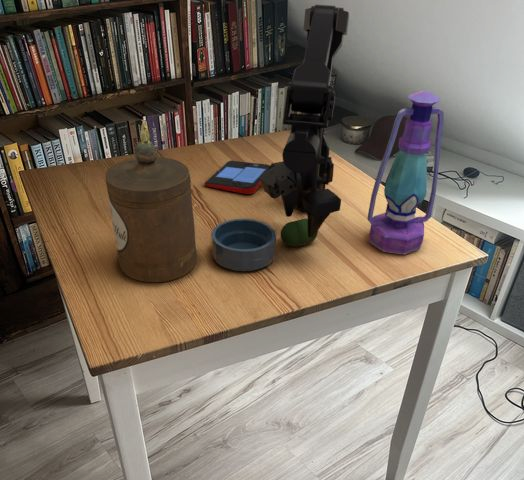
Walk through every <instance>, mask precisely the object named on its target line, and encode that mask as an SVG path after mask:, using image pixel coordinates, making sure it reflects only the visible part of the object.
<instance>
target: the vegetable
mask: <svg viewBox="0 0 524 480" xmlns="http://www.w3.org/2000/svg"><path fill="white" fill-rule="evenodd" d="M139 138H140V140H139V141H138V142H137V143H136V145H135V148H134V158H136V155H137V153H138V152H139V151H140V150H142V149H150V150H151V151H153V152H154V153H155V154H156V155H157V150H156V147H155V145H154V144H153V142H151V141H150V138H151V135H150V132H149V128H148V124H147V123H146V121H145V120H143V119H141V125H140V133H139Z"/></svg>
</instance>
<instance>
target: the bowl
mask: <svg viewBox="0 0 524 480" xmlns="http://www.w3.org/2000/svg"><path fill="white" fill-rule="evenodd" d="M210 237H211V238H210V239H211V255H212V259H213V260H214V261H215V263H216V264H218V265H219V266H221V267H222V268H225V269H228V270H230V271H237V272H250V271H251V272H252V271H256V270H260V269H263V268H265V267H267V266H269V265H270V264H271V263H272V262H273V261H274V260H275V256H276V247H277V246H276V245H277V233H276V230H275V229H274V228H273V227H272V226H271V225H270V224H269V223H266V222H264V221H261V220H258V219H253V218H233V219H227V220H225V221H223V222H221V223H218V224H217V225H216V226H214V227H213V229H212V231H211V233H210Z"/></svg>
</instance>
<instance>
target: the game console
mask: <svg viewBox="0 0 524 480" xmlns="http://www.w3.org/2000/svg"><path fill="white" fill-rule="evenodd" d="M270 165H271V164H267V163H259V162H258V163H256V162H248V161H241V160H239V161H238V160H229V161H226V163H225V164H224V165H223V166H221V168H219V169H217V170H216V172H215V173H214V174H212V176H210V177H209V178H208V179H207V180H206V181H205V182H204V185H205V186H206V187H207V188H212V189H216V190H222V191H227V192H232V193H238V194H242V195H252V194H254V193H255V192H257V190H258V189H259V188H260V187H261V186H262V183H261V180H260V175H261V174H262V173H264V172H266V171H267V170H268V168H269V166H270Z"/></svg>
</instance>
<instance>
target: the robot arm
mask: <svg viewBox="0 0 524 480" xmlns="http://www.w3.org/2000/svg"><path fill="white" fill-rule="evenodd" d="M349 22H350V12H349V11H346V10H345V8H344V7H337V6H336V5H328V4H315V5H311V7H308V8H305V9H304V19H303V32H304V33H306V47H305V52H304V57H303V62H302V63H301V64H300V65H298V66H297V67H295V69H294V70H293V74H292V79H291V82H290V81H289V82H288V83H287V88H286V96H285V103H284V104H285V105H284V111H283V119H282V125H288V126H291V127H290V133H289V135H288V138H287V140H286V142H285V145H284V148H283V150H282V161H277V162H272V163H270V164H269V165H270V166H269V168H268V170H267V171H266V172H264V173H262V174H261V175H260V180H261V183H262V185H261V186H262V189H263V192H264V193H266V194H267V195H268V196H269V197H270V198H271V199H273V200H274V199H275V200H276V199H279V198H280V197H281V201H282V206H283V210H284V213H285V216H286V217H287V218H290V217H292V216H293V214H294V210H295V208H297V209H298V210H300V212H302V213H305V214H306V215H307V216H306V217H307V219H308V237H309V238H311V237H314V236H315V234H316V233H317V231H318V232H319V230H320V228H321V227H322V226H323V224H324V222H325V221H326V220H327V218H328V217H329V216H330V215H331V214H333V213H336V212H339V211H340V210H341V204H342V199H341V198H340V197H339V195H337V194H336V193H334V192H333V191H332V190H330V189H329V188H326V186H329V184H330V183H333V180H334V171H335V169H334V168H335V163H334V162H333V158H332V156H330V146H329V144H328V141H327V139H326V136H325V132H326V129H328V126H329V122H331V121H332V122H333V116H334V115H333V114H334V109H335V102H336V92H335V91H334V89H335V88H334V85H331V80H332V71H333V62H334V59H335V57H336V55H337V54H338V53H339V51H340V50H341V48H342V46H343V43H344V36H347V35H348V31H349ZM290 110H291V112H294V113H290Z"/></svg>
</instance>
